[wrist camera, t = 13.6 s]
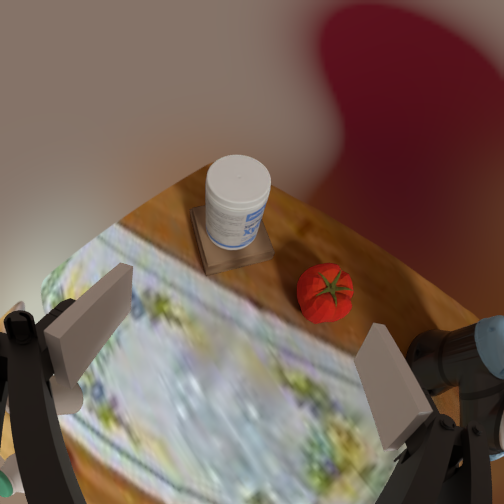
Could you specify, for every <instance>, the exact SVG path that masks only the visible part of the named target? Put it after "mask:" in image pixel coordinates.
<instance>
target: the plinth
mask: <svg viewBox="0 0 504 504" xmlns="http://www.w3.org/2000/svg"><path fill="white" fill-rule="evenodd" d="M190 218H191V222H192V226H193V229H194V233H195V237H196V241H197V245H198V248H199V252H200V256H201V259H202V263H203V266H204V270H205V274H206V276H208V275H212V274H216V273H220V272H224V271H228V270H232V269H236V268H240V267H244V266H247V265H251V264H255V263H259V262H263V261H267V260H271V259H272V258H273V256H274V254H275V252H274V249H273V247H272V244H271V242H270V239H269V236H268V234H267V231H266V229H265V226H264V224H263V221H262V219H261V222H260V225H259V228H258V232H257V235H256V237H255V239H254V240H253V241H252V242H251V243H250V244H249V245H248V246H246V247H244V248H242V249H238V250H227V249H223V248H220V247H218V246H217V245H215V244H214V243H213V242H212V241H211V240H210V238H209V237H208V234H207V231H206V205H204V206H200V207H195V208H192V209H190Z"/></svg>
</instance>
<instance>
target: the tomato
mask: <svg viewBox="0 0 504 504" xmlns="http://www.w3.org/2000/svg"><path fill="white" fill-rule="evenodd" d="M353 293H354V290H353V285H352V281H351V278H350V276H349V274H348V273H346V272H344V271H342V270H341V268H340V267H339V266H338V265H337V264H333V263H324V264H319V265H315V266H313V267H310V268H309V269H307V270H306V271H305V272H304V273H303V274H302V275H301V276H300V278H299V280H298V283H297V298H298V303H299V305H300V307H301V311H302V314H303V316H304V317H305V318H306V319H307V320H309V321H311V322H313V323H314V324H317V323H322V322H334V321H337V320H339V319H341V318H343V317H344V316H346V315H347V314H348V312H349V311H350V310H351V308H352V304H351V300H350V299H351V297H352V296H353Z"/></svg>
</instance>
